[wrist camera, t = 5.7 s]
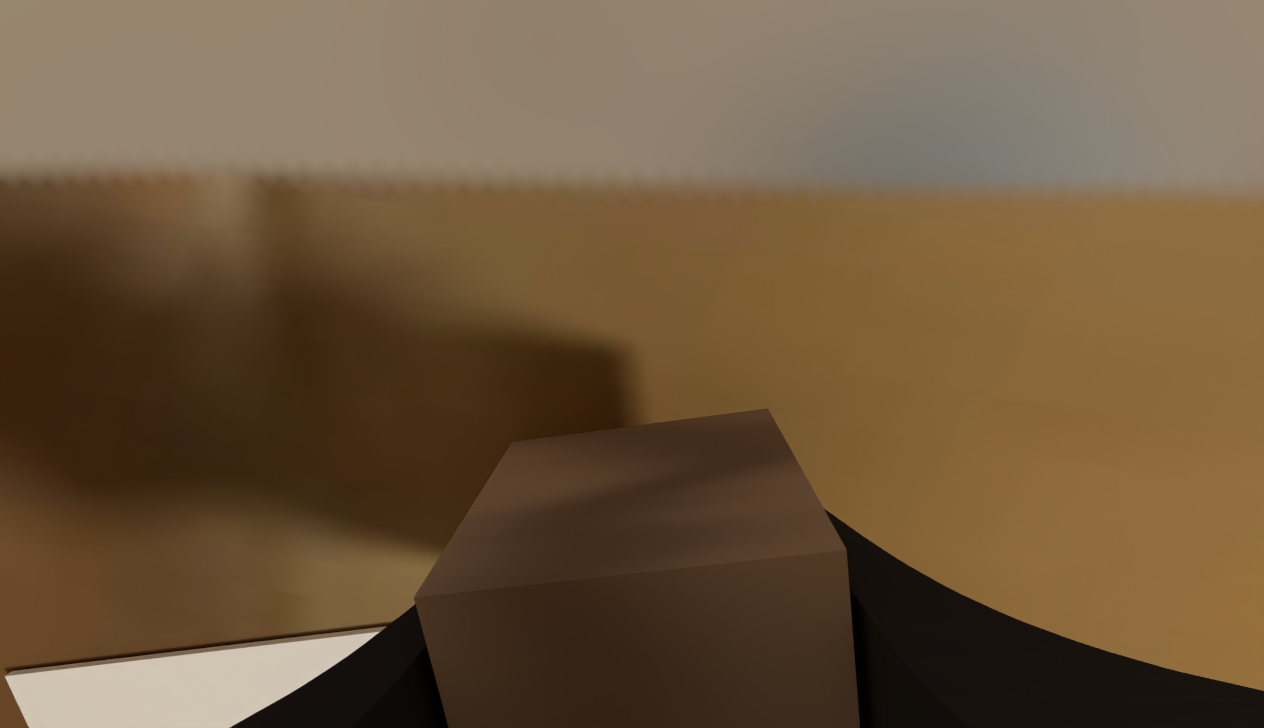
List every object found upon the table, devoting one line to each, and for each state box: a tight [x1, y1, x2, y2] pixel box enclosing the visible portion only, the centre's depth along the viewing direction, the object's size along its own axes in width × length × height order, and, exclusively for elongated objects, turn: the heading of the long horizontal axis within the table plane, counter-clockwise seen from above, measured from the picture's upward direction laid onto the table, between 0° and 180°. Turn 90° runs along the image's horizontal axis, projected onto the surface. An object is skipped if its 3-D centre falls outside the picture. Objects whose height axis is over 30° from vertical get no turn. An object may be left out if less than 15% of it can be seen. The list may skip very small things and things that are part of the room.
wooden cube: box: [414, 409, 860, 728], centre depth 10 cm, size 5×5×5 cm
